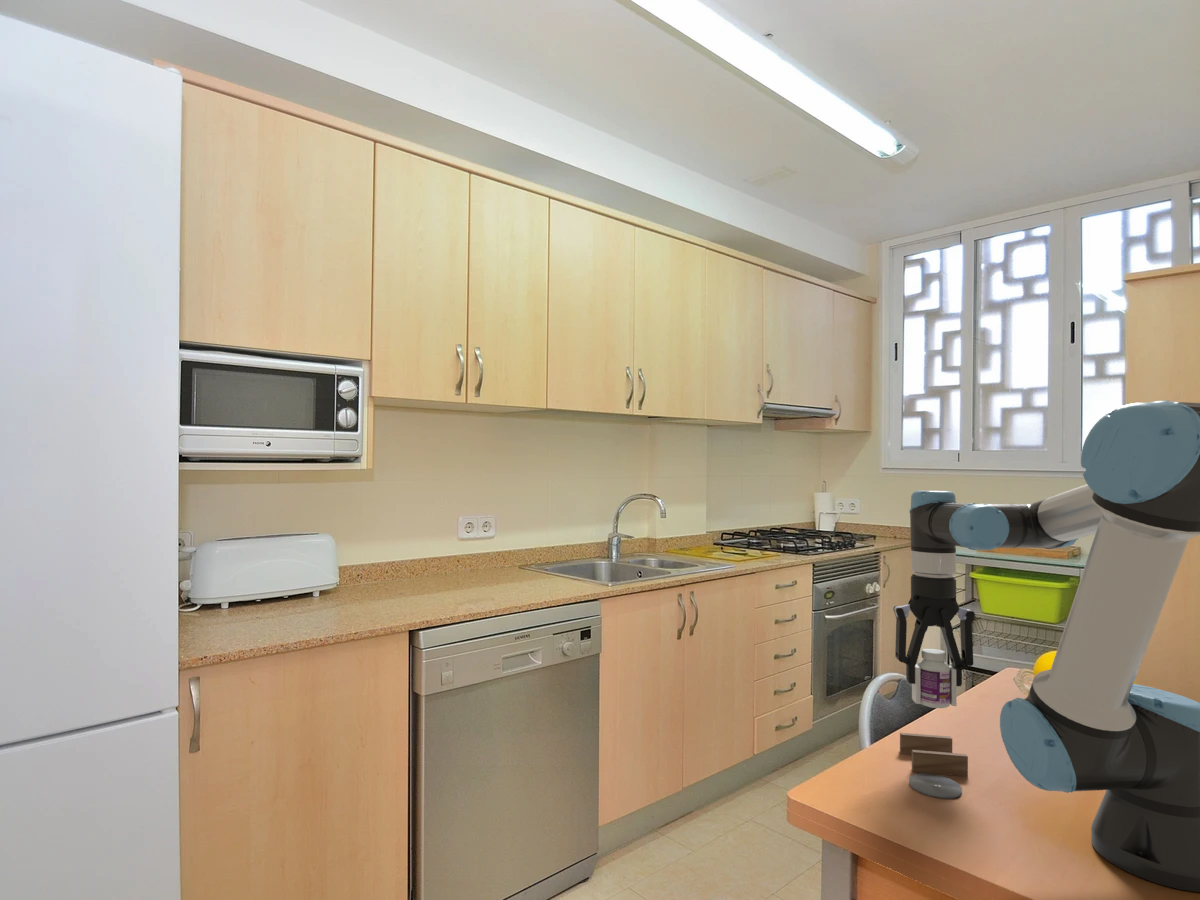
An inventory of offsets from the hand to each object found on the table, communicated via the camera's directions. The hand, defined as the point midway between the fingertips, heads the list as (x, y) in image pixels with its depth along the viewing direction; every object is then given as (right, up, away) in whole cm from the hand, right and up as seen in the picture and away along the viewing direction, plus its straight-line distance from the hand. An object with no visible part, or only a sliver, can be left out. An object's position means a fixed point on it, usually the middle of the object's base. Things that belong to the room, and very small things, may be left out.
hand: (933, 702), depth 125 cm
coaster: (-4, -11, -9) cm, 15 cm away
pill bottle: (0, -1, 0) cm, 1 cm away
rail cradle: (0, -11, 0) cm, 11 cm away
